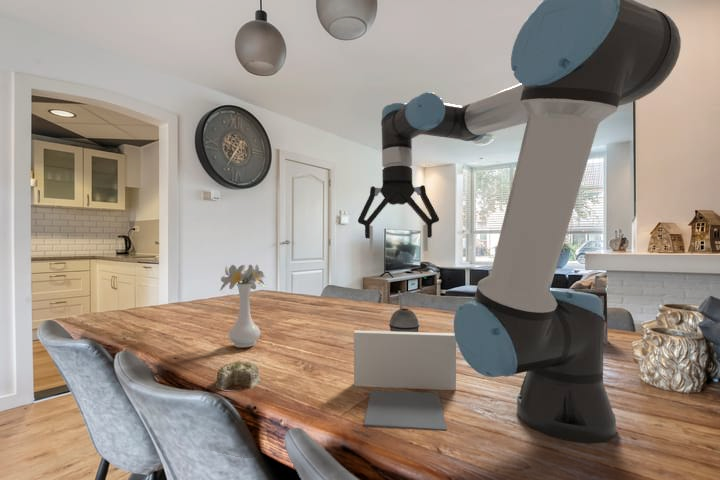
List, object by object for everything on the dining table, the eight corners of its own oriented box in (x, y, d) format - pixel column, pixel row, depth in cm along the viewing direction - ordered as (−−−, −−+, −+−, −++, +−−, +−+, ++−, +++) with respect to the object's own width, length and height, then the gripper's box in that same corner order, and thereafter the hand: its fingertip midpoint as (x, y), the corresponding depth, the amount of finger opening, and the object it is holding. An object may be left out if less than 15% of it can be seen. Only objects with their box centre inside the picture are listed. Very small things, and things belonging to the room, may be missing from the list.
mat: (438, 397, 74) (438, 393, 74) (446, 433, 60) (446, 429, 60) (370, 393, 75) (370, 389, 75) (363, 428, 62) (363, 424, 62)
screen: (454, 387, 78) (454, 333, 78) (456, 391, 76) (456, 335, 76) (355, 383, 81) (355, 330, 81) (353, 386, 79) (353, 332, 79)
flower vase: (263, 334, 122) (263, 261, 121) (266, 351, 104) (266, 265, 104) (222, 338, 118) (222, 262, 117) (219, 355, 100) (218, 266, 100)
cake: (214, 379, 84) (214, 356, 84) (258, 373, 88) (258, 351, 88) (214, 396, 75) (214, 370, 75) (263, 389, 78) (263, 364, 78)
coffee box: (606, 339, 115) (607, 289, 115) (607, 344, 110) (608, 292, 110) (573, 335, 120) (574, 287, 120) (573, 340, 115) (573, 290, 115)
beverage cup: (418, 379, 83) (418, 293, 83) (387, 376, 85) (387, 292, 84) (419, 368, 90) (419, 289, 90) (390, 366, 92) (390, 288, 92)
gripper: (444, 169, 94) (445, 250, 93) (349, 172, 95) (350, 251, 95) (449, 162, 86) (451, 250, 86) (346, 165, 88) (347, 252, 87)
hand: (398, 251), depth 90 cm, fingers open, 13 cm apart
